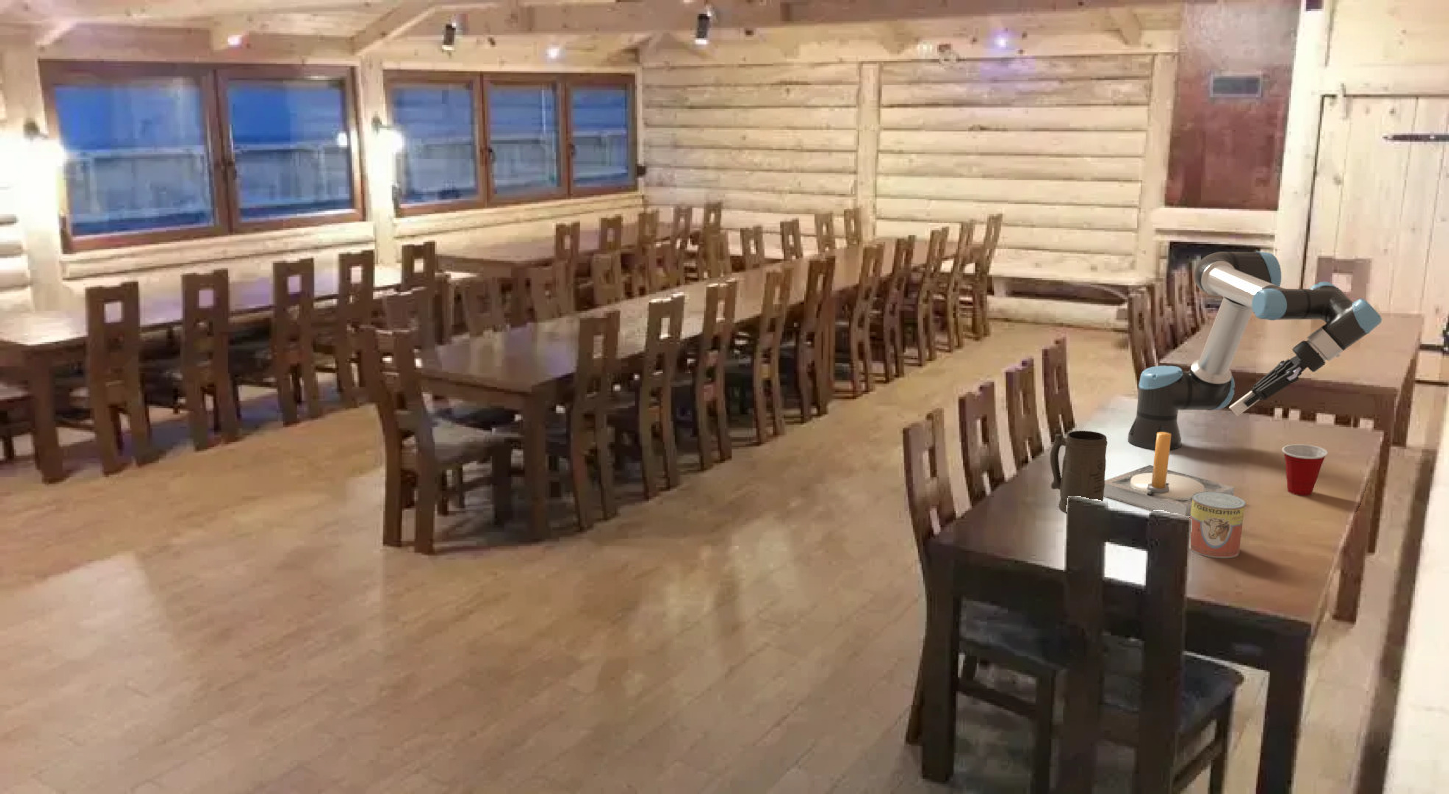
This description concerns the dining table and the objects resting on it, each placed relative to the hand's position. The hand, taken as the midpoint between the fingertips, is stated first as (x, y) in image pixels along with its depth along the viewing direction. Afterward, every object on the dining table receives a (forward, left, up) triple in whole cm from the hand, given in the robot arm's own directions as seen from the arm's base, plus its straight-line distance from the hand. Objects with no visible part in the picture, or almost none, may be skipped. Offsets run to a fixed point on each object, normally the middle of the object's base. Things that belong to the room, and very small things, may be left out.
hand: (1233, 411), depth 282 cm
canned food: (+12, -28, -26) cm, 40 cm away
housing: (-14, -3, -26) cm, 29 cm away
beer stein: (-25, -29, -26) cm, 46 cm away
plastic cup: (+6, +29, -26) cm, 40 cm away
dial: (-14, -3, -23) cm, 27 cm away
